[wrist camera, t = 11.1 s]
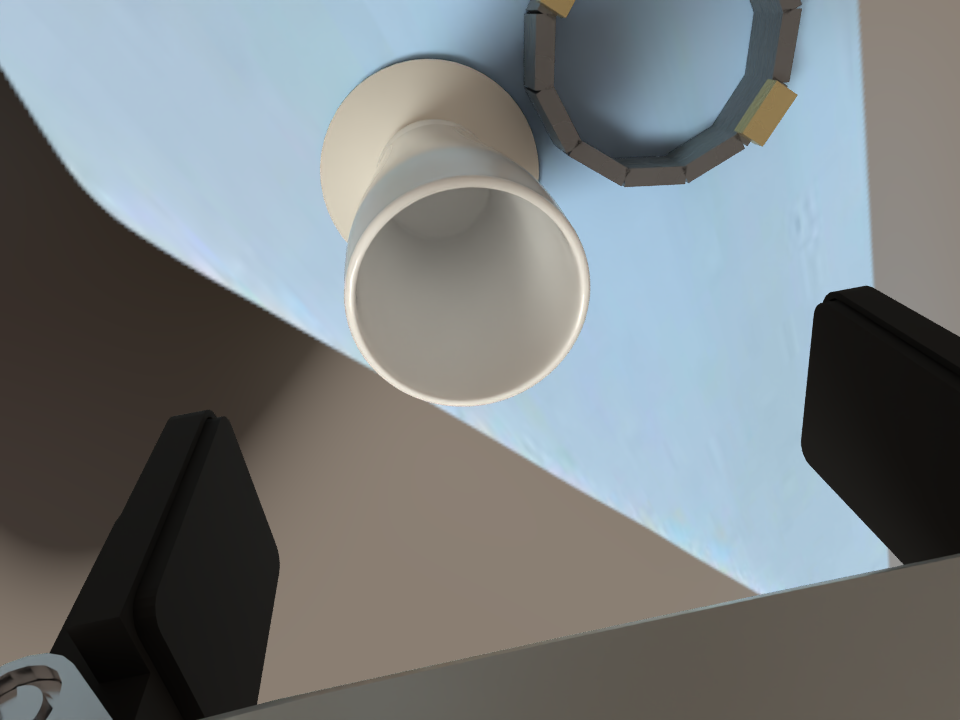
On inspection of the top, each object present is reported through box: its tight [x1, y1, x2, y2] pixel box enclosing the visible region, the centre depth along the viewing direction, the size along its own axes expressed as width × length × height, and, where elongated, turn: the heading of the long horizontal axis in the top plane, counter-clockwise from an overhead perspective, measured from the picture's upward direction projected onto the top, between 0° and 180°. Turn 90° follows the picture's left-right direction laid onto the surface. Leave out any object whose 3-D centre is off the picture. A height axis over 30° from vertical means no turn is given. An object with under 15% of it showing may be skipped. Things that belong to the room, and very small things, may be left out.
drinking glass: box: [344, 119, 590, 406], centre depth 25 cm, size 7×7×15 cm
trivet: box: [320, 59, 539, 243], centre depth 32 cm, size 10×10×1 cm
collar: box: [524, 0, 802, 187], centre depth 29 cm, size 12×11×3 cm
